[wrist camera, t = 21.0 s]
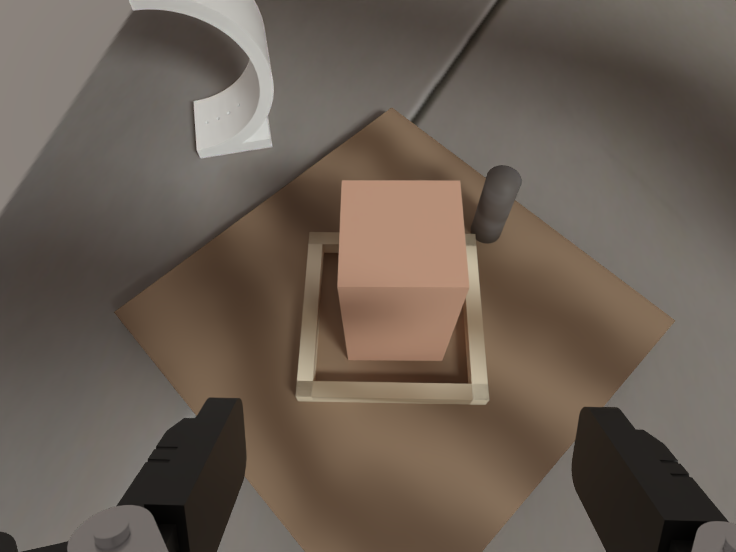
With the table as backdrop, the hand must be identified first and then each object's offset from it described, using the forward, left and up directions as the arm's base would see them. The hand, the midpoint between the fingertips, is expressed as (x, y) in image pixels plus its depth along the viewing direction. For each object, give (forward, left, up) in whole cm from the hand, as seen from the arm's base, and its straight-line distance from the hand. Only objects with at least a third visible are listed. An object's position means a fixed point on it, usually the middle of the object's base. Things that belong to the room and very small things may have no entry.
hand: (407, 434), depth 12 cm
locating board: (-6, -6, -15) cm, 18 cm away
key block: (-6, -6, -14) cm, 17 cm away
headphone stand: (-9, -24, -15) cm, 30 cm away
